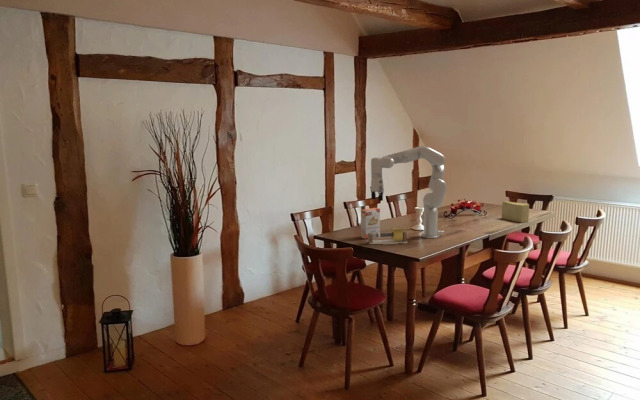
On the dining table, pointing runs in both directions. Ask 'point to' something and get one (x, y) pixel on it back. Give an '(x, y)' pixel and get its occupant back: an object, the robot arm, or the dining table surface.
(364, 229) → the cracker box
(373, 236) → the cord rail
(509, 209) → the cheese
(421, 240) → the dining table surface
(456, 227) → the dining table surface
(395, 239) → the yellow block
